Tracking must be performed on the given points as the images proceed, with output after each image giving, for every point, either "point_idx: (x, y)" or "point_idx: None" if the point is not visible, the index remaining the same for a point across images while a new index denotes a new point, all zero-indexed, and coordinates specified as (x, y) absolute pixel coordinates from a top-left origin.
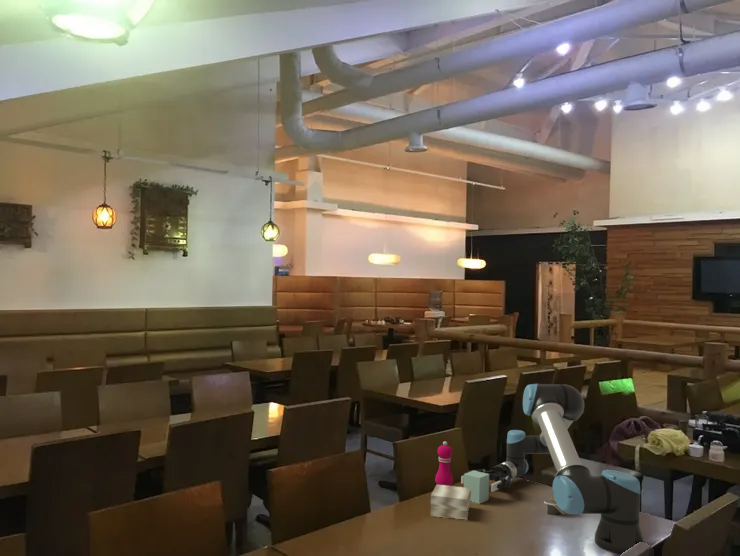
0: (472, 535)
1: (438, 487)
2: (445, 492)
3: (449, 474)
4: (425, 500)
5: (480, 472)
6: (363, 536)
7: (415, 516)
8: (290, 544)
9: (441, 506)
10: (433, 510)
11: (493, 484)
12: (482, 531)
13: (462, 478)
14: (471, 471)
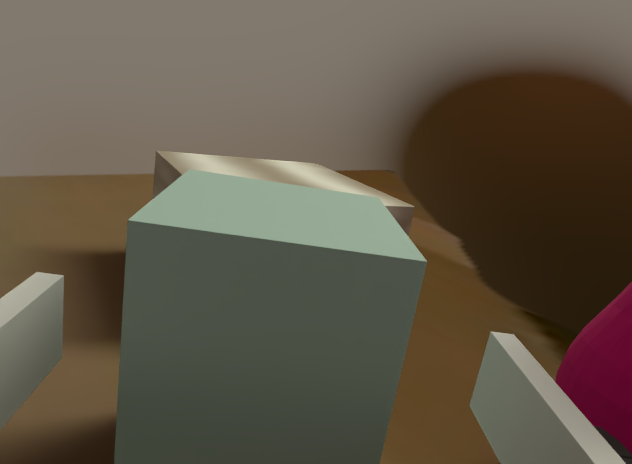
0: (83, 203)
1: (367, 192)
2: (291, 172)
3: (613, 321)
4: (467, 327)
5: (284, 234)
6: None
7: None
8: (386, 174)
9: None
10: None
11: (28, 278)
12: (49, 217)
13: (488, 351)
14: (400, 235)
